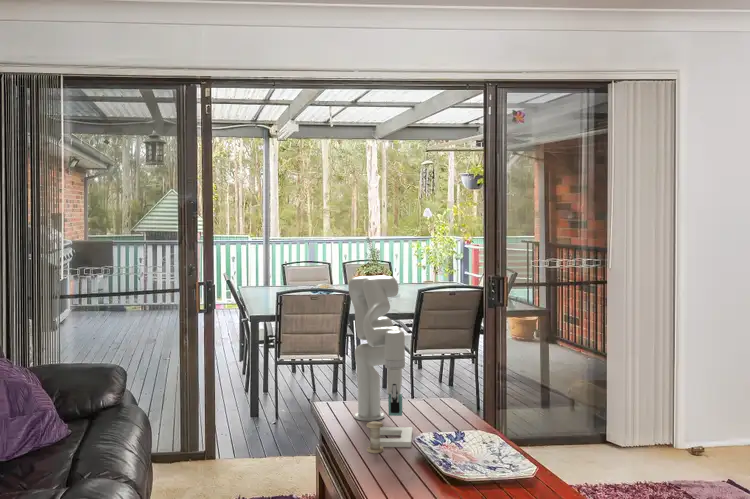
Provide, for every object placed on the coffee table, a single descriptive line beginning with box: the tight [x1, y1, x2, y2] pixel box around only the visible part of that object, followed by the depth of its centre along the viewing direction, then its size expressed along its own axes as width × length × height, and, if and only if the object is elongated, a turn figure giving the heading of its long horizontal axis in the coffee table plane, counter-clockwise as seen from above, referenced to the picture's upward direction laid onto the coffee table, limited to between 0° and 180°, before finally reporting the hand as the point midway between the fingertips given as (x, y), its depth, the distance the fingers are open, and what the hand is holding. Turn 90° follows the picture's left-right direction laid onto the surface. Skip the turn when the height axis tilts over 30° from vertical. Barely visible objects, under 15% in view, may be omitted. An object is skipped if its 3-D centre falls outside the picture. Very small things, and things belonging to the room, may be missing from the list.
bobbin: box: [366, 420, 384, 454], centre depth 279 cm, size 6×6×10 cm
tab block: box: [387, 393, 403, 417], centre depth 286 cm, size 5×5×7 cm
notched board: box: [380, 426, 414, 448], centre depth 292 cm, size 18×14×2 cm
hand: (395, 410), depth 287 cm, fingers closed on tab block, 4 cm apart
